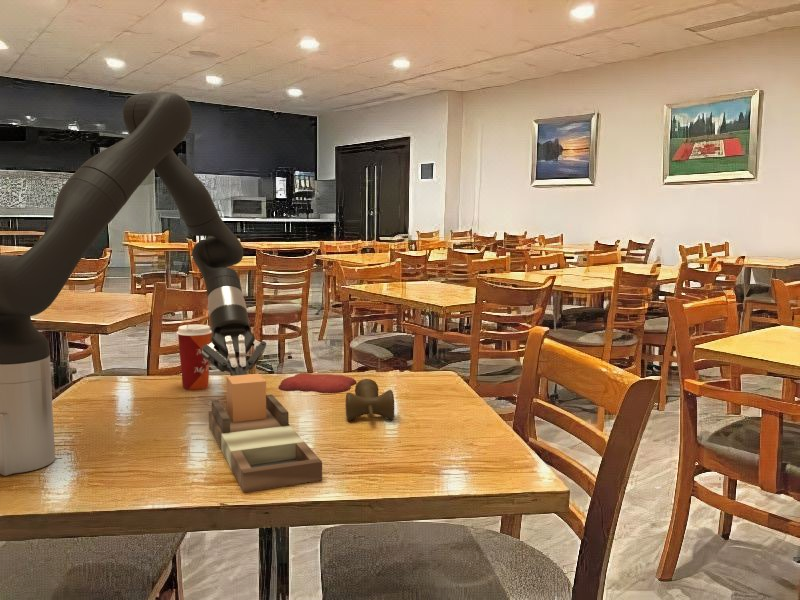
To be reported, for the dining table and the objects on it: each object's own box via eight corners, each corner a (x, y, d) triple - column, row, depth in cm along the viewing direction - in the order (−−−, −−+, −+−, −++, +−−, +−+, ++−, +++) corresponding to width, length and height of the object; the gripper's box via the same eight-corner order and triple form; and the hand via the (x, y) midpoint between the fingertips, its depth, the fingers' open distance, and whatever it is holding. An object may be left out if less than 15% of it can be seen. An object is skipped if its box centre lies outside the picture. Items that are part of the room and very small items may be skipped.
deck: (209, 426, 128) (208, 398, 127) (272, 419, 133) (271, 392, 132) (243, 492, 99) (242, 456, 98) (322, 480, 104) (322, 446, 103)
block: (226, 412, 127) (226, 376, 126) (258, 409, 129) (258, 373, 128) (233, 422, 121) (232, 384, 120) (266, 418, 124) (265, 381, 123)
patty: (272, 392, 154) (271, 383, 154) (291, 377, 168) (291, 369, 167) (346, 396, 151) (346, 388, 151) (360, 381, 165) (360, 373, 165)
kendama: (388, 401, 149) (397, 429, 129) (344, 403, 148) (346, 431, 128) (388, 375, 148) (396, 398, 128) (344, 376, 147) (345, 400, 127)
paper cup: (207, 391, 152) (205, 330, 150) (173, 390, 152) (171, 329, 150) (217, 382, 159) (216, 324, 158) (184, 381, 160) (183, 323, 158)
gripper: (196, 304, 133) (207, 379, 123) (263, 301, 138) (278, 373, 129) (193, 326, 138) (203, 400, 129) (257, 323, 144) (272, 394, 134)
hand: (241, 387), depth 129 cm, fingers closed
